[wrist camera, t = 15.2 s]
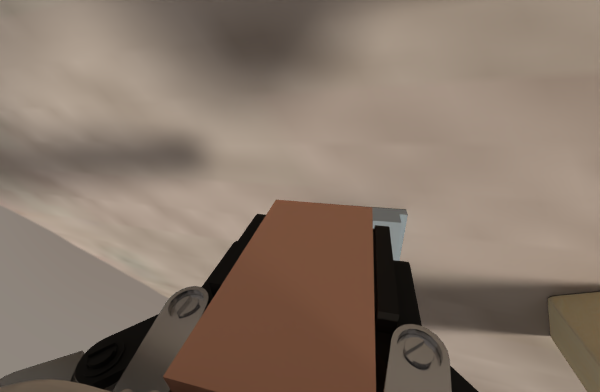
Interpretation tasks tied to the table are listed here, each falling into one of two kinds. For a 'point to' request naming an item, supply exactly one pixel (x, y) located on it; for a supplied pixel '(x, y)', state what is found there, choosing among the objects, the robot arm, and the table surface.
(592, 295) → the toy refrigerator
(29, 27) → the table surface
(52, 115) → the table surface
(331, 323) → the brown rectangular brick
